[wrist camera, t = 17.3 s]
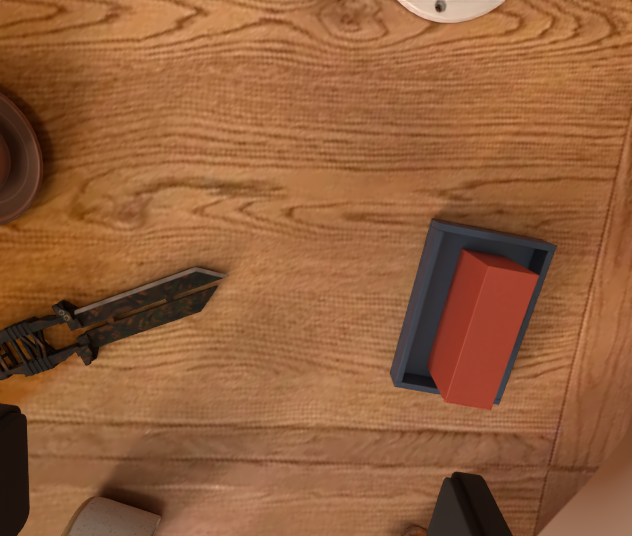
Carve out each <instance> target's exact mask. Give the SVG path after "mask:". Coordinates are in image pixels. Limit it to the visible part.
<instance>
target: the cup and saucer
mask: <svg viewBox="0 0 632 536" xmlns="http://www.w3.org/2000/svg"><path fill="white" fill-rule="evenodd" d="M42 177H43V160H42V153H41V149H40V145H39V142H38V139H37V137H36V134H35V132H34V130H33V128H32V126H31V125H30V123H29V121H28V120H27V118H26V117H25V116H24V114H23V113H22V112H21V110H20V109H19V108H18V107H17V106H16V105H15V104H14V103H13V102H12V101H11V100H10V99H9V98H7V97H6V96H5V95H4V94H2V93H1V92H0V225H3V224H6V223H9V222H11V221H12V220H14V219H16V218H18V217H19V216H20V215H22V214H23V213H24V212H25V211H26V210H27V209H28V208H29V207H30V206H31V205H32V203H33V202H34V200H35V198H36V197H37V195H38V192H39V190H40V186H41V183H42Z"/></svg>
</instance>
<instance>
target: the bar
mask: <svg viewBox="0 0 632 536" xmlns="http://www.w3.org/2000/svg"><path fill="white" fill-rule="evenodd" d="M538 277H539V275H538V274H536V273H534V272H532V271H530V270H529V269H527V268H525V267H523V266H521V265H520V264H518V263H516V262H514V261H512V260H510V259H509V258H507V257H505V256H502V255H497V254H492V253H486V252H481V251H476V250H471V249H465V248H461V251H460V254H459V258H458V261H457V264H456V268H455V271H454V274H453V278H452V281H451V285H450V288H449V291H448V295H447V298H446V301H445V305H444V308H443V311H442V315H441V318H440V322H439V325H438V328H437V332H436V335H435V338H434V342H433V345H432V348H431V352H430V355H429V359H428V362H427V365H426V366H427V368H428V370H429V372H430V374H431V376H432V378H433V380H434V382H435V384H436V386H437V388H438V390H439V391H440V393H441V395H442V397H443V399H444V401H445V402H447V403H452V404H458V405H464V406H470V407H476V408H482V409H487V410H491V408H492V405H493V403H494V400H495V397H496V394H497V392H498V389H499V386H500V383H501V380H502V378H503V375H504V372H505V369H506V366H507V364H508V361H509V358H510V355H511V352H512V350H513V347H514V344H515V341H516V339H517V336H518V333H519V330H520V327H521V325H522V322H523V319H524V316H525V313H526V311H527V308H528V305H529V302H530V300H531V297H532V294H533V291H534V288H535V286H536V283H537V280H538Z"/></svg>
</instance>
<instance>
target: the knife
mask: <svg viewBox="0 0 632 536" xmlns="http://www.w3.org/2000/svg"><path fill="white" fill-rule="evenodd" d="M227 276H229V275H226V274H222V273H218V272H214V271H210V270H206V269H202V268H198V267H194V268H192V269H189V270H186V271H183V272H181V273H178V274H175V275H172V276H169V277H167V278H164V279H161V280H158V281H155V282H153V283H150V284H147V285H144V286H141V287H139V288H136V289H133V290H130V291H128V292H125V293H122V294H119V295H116V296H114V297H111V298H108V299H105V300H102V301H100V302H97V303H94V304H91V305H89V306H86V307H83V308H80V309H78V308H77V307H76V306H74V305H72V304H70V303H68V302H66V301H64V300H63V301H60V302H58V304H55V305H53V306H52V308H53V310H54V312H55V313H56V315H48V316H45V317H42V318H40V319H39V318H36V317H32V318H29V319H27V320H24V321H22V322H18V323H17V324H13V325H11V326H9V327H7V328H4V330H3V331H0V344H1V346H2V348H3V349H4V351H5V352H6V353H5V354H3V355H2V356H1V354H0V380H4V379H7V378H9V377H10V376H12V375H13V374H25V376H26V377H27V376H30V375H31V376H32V375H34V374H38V373H40V372H44V371H45V370H46V371H47V370H49V369H53V368H54V367H55V366H57V365H58V364H59V363H60V362H62V361H65V360H66V359H67V358H68V357H69V356H70V355H72V354H73V353H74V352H76V353H77V355H78V357H79V356H81V358H82V360H83V362H84V363H85V365H86V366H87V365H89V364H91V363H92V362H91V361H94V360H95V359H96V358H97V353H98V348H99V346H102V345H105V344H108V343H111V342H114V341H117V340H120V339H122V338H125V337H128V336H131V335H134V334H137V333H140V332H143V331H146V330H149V329H151V328H154V327H157V326H160V325H163V324H166V323H169V322H172V321H175V320H177V319H180V318H183V317H186V316H189V315H192V314H195V313H198V312H201V311H202V309H203V308H204V306H205V305H206V303H207V302H208V300H209V299H210V297H211V296H212V294H213V293H214V291H215V290H216V288H217V287H218V286H214V287H211V288H208V289H206V290H203V291H200V292H197V293H194V294H191V295H188V296H186V297H183V298H180V299H177V300H174V299H173V297H172V296H174V295H177V294H180V293H183V292H185V291H188V290H191V289H194V288H197V287H200V286H202V285H205V284H208V283H211V282H214V281H217V280H219V279H222V278H225V277H227ZM163 299H166V301H167V303H166V304H163V305H160V306H157V307H154V308H151V309H149V310H146V311H143V312H140V313H137V314H134V315H131V316H129V317H126V318H123V319H120V320H117V321H115V319H114V317H115V316H117V315H120V314H123V313H126V312H129V311H132V310H134V309H137V308H140V307H143V306H146V305H149V304H151V303H154V302H157V301H160V300H163ZM103 320H105V321H106V323H107V324H106V325H103V326H100V327H97V328H94V329H92V330H89V331H86V332H85V333H84V334H81V335H80V336H79V337H77V338H76V340H77V341H78V343H77V344H74V345H71V346H68V347H65V348H63V349H60V350H57V351H55V350H54V349H53V348H52V347H51V346H50V345H49V344H48V343H47V342H46V341H45V339H44V335H43V331H42V329H44V328H47V327H50V326H52V325H55V324H58V323H59V324H62V323H67V324H68V326H69V327H70V329H71V331H72V330H75V329H78V328H83V327H86V326H89V325H92V324H95V323H98V322H100V321H103ZM37 331H38V332H37ZM29 334H30V335H31V336H32V337H33V338H34V340H35V344H36V345H35V344H34V343H33V342H31V341H30V340H29V339H28V338H27V337H25V336H27V335H29ZM38 335H39V336H38ZM18 338H19V339H20V340H21V342H22V344H23V345H24V347H25V348H26V350H27V352H28V353H29V355H30V357H31V358H32V359H31V360H27V358H26V357H25V355H24V354H23V352H22V350H21V349H20V347H19V345H18V344H17V342H16V341H15V339H18ZM8 341H10V342H11V344H12V346H13V347H14V349H15V350H16V352H17V354H18V355H19V357H20V358H21V360H22V363H20V364H18V363H17V361H16V360H15V358H14V356H13V355H12V353H11V352H10V350H9V348H8V347H7V345H6V344H5V342H8ZM31 348H33V349H34V350H35V351H36V352H37V353H38V357H36V355H35V354H34V352H33V350H32V349H31ZM41 348H42V349H41ZM47 349H48V350H49V351H50V352H49V353H48V352H47ZM0 350H1V348H0ZM7 355H8V357H9V359H10V360H11V362H12V363H13V365H14V366H11V367H8V365H7V364H6V362H5V360H4V359H3V358H4V357H6V356H7Z"/></svg>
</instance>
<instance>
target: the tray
mask: <svg viewBox="0 0 632 536" xmlns="http://www.w3.org/2000/svg"><path fill="white" fill-rule="evenodd" d="M556 247H557V245H554V244H552V243H549V242H547V241H544V240H541V239H536V238H531V237H525V236H520V235H515V234H510V233H505V232H499V231H494V230H489V229H484V228H479V227H473V226H468V225H463V224H458V223H453V222H447V221H442V220H437V219H432V220H431V223H430V227H429V231H428V234H427V238H426V242H425V245H424V249H423V253H422V256H421V260H420V264H419V268H418V271H417V275H416V279H415V282H414V286H413V290H412V293H411V297H410V301H409V305H408V308H407V312H406V316H405V319H404V323H403V327H402V330H401V334H400V338H399V341H398V345H397V349H396V353H395V356H394V360H393V364H392V367H391V371H390V375H391V378H392V381H393V384H394V387H399V388H405V389H411V390H417V391H422V392H428V393H434V394H440V395H441V393H440V391H439V390H438V388H437V386H436V384H435V382H434V380H433V378H432V376H431V374H430V372H429V370H428V368H427V366H426V365H427V362H428V359H429V355H430V352H431V348H432V345H433V342H434V338H435V335H436V332H437V328H438V325H439V322H440V318H441V315H442V311H443V308H444V305H445V301H446V298H447V295H448V291H449V288H450V285H451V281H452V278H453V274H454V271H455V268H456V264H457V261H458V258H459V254H460V251H461V248H465V249H471V250H476V251H481V252H486V253H492V254H497V255H502V256H505V257H507V258H509V259H510V260H512V261H514V262H516V263H518V264H520V265H521V266H523V267H525V268H527V269H529V270H530V271H532V272H534V273H536V274H538V275H539V277H538V280H537V283H536V286H535V288H534V291H533V294H532V297H531V300H530V302H529V305H528V308H527V311H526V313H525V316H524V319H523V322H522V325H521V327H520V330H519V333H518V336H517V339H516V341H515V344H514V347H513V350H512V352H511V355H510V358H509V361H508V364H507V366H506V369H505V372H504V375H503V378H502V380H501V383H500V386H499V389H498V392H497V394H496V397H495V400H494V403H493V404H498V405H499V403H500V401H501V398H502V395H503V392H504V390H505V387H506V384H507V381H508V379H509V376H510V373H511V370H512V368H513V365H514V362H515V359H516V357H517V354H518V351H519V348H520V346H521V343H522V340H523V337H524V335H525V332H526V329H527V326H528V324H529V321H530V318H531V315H532V313H533V310H534V307H535V304H536V302H537V299H538V296H539V293H540V291H541V288H542V285H543V282H544V280H545V277H546V274H547V271H548V269H549V266H550V263H551V260H552V258H553V255H554V252H555V250H556Z"/></svg>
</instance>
